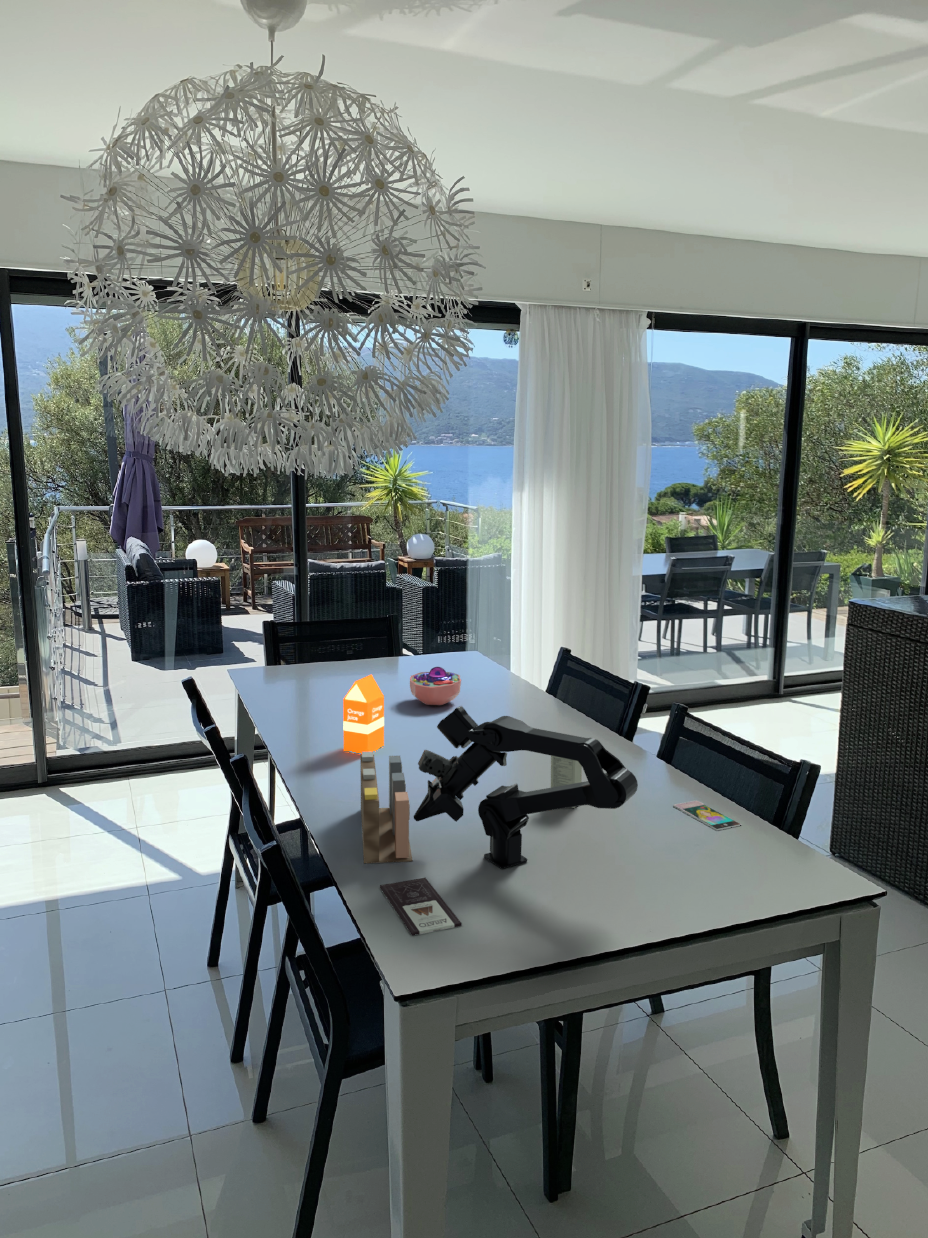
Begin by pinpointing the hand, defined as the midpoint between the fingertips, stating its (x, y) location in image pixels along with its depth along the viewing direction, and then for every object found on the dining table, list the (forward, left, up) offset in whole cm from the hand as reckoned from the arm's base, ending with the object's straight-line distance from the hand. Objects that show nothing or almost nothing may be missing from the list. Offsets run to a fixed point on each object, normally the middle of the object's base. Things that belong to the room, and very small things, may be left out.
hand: (414, 819), depth 181 cm
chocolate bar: (-18, +10, -8) cm, 22 cm away
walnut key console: (+12, 0, -8) cm, 14 cm away
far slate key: (+21, -7, -7) cm, 23 cm away
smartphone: (-16, -66, -8) cm, 69 cm away
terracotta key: (+1, +3, -8) cm, 8 cm away
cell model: (+93, -60, -8) cm, 111 cm away
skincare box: (+6, -43, -8) cm, 45 cm away
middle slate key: (+11, -2, -7) cm, 13 cm away
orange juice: (+64, -20, -8) cm, 67 cm away
